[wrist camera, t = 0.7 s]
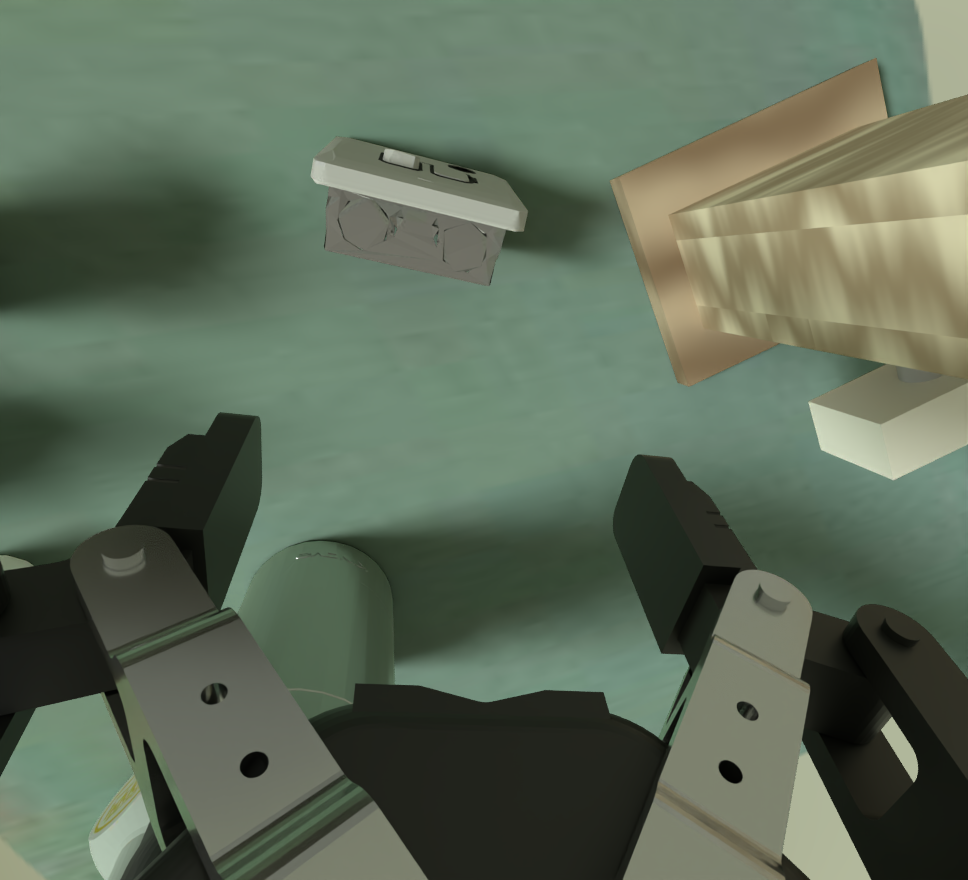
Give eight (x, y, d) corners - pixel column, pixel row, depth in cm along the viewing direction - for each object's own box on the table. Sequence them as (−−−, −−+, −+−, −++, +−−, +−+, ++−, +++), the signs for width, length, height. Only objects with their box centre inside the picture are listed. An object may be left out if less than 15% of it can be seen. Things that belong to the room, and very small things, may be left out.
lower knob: (784, 312, 31) (857, 321, 26) (941, 238, 31) (1041, 232, 26) (821, 450, 34) (893, 480, 29) (966, 380, 34) (1061, 398, 29)
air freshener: (197, 863, 43) (144, 1030, 34) (94, 807, 41) (6, 971, 32) (301, 762, 43) (277, 905, 33) (202, 699, 40) (146, 833, 31)
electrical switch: (505, 179, 34) (541, 171, 26) (485, 272, 36) (512, 294, 27) (336, 135, 32) (314, 111, 24) (323, 235, 34) (297, 246, 26)
